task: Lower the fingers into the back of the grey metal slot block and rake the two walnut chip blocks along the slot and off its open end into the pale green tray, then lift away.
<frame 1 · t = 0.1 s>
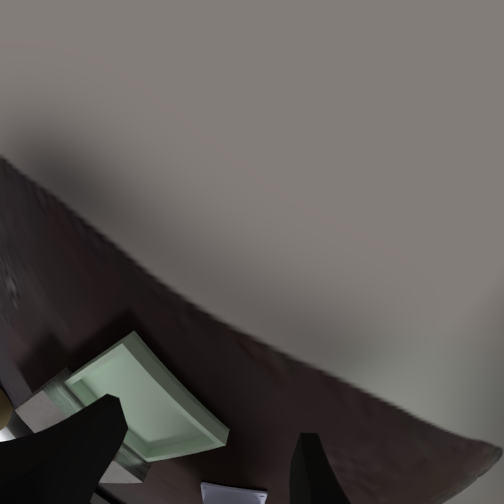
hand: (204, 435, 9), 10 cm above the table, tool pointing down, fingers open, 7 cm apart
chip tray: (143, 403, 22), on the table
squeeze bottle: (4, 396, 30), on the table
slot block: (85, 424, 25), on the table
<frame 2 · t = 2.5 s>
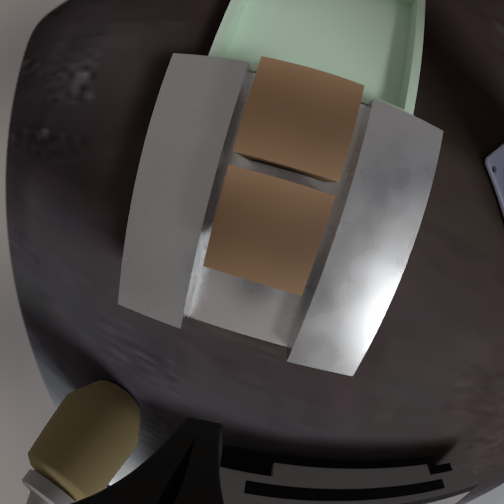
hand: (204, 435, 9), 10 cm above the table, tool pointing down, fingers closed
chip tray: (326, 27, 14), on the table
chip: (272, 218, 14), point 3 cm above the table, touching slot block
game console: (323, 494, 25), on the table
squeeze bottle: (117, 399, 24), on the table
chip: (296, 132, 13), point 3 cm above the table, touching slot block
slot block: (275, 209, 17), on the table
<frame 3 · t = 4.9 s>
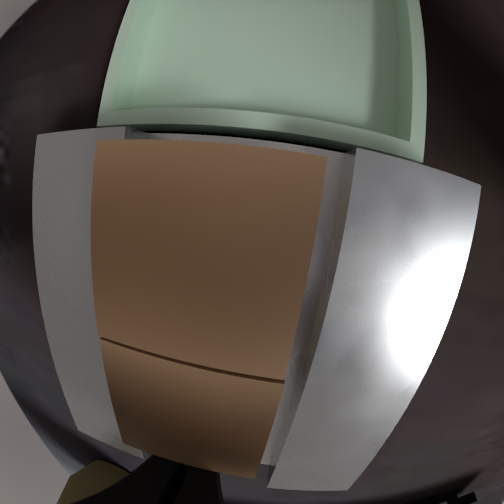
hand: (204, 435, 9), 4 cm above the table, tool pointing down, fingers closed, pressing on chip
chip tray: (271, 22, 9), on the table
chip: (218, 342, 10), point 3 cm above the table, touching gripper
squeeze bottle: (120, 474, 19), on the table
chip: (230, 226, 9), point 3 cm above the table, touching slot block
slot block: (233, 312, 13), on the table
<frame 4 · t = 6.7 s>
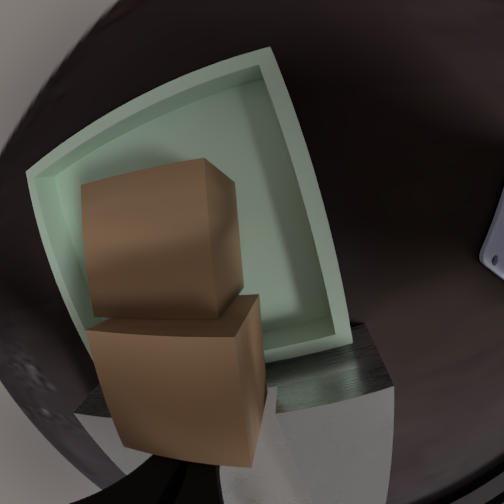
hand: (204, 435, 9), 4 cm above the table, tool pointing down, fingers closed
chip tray: (174, 235, 12), on the table
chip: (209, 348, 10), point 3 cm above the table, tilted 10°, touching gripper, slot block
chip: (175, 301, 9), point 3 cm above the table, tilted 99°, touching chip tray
slot block: (259, 441, 15), on the table
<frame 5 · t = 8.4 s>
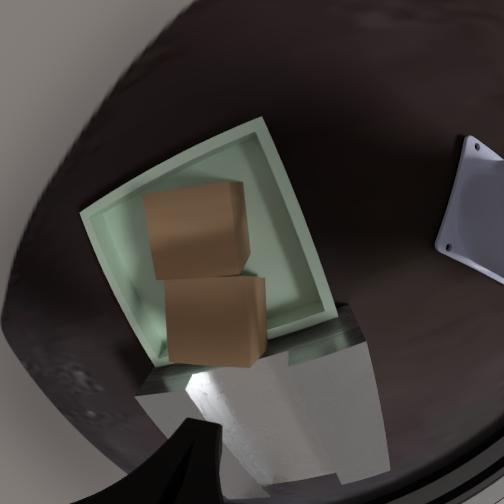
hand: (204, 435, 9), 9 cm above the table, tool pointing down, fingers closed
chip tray: (205, 253, 17), on the table
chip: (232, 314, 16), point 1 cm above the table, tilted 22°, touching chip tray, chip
game console: (448, 483, 22), on the table
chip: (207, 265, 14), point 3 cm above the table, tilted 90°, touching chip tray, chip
slot block: (280, 408, 19), on the table
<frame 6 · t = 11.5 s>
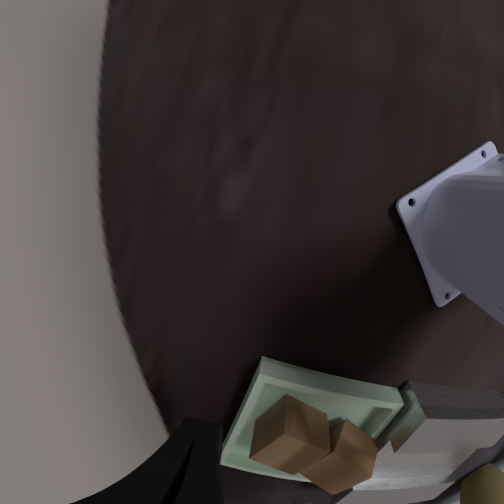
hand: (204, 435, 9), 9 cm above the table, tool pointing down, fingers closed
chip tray: (302, 426, 20), on the table
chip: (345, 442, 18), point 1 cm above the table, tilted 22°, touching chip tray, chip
squeeze bottle: (475, 472, 21), on the table
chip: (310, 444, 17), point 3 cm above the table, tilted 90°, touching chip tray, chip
slot block: (420, 439, 20), on the table
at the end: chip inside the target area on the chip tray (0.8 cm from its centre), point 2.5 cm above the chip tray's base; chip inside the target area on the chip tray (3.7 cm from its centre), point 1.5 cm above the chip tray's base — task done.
